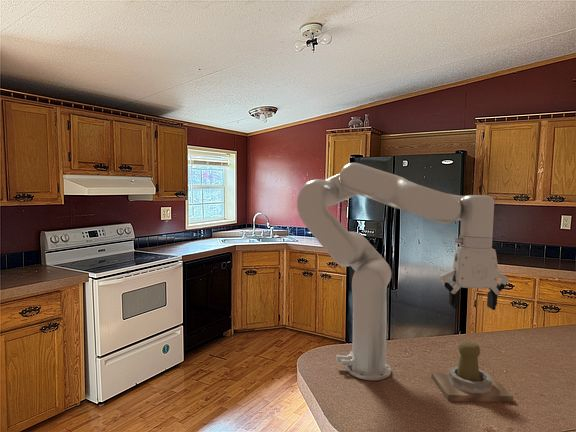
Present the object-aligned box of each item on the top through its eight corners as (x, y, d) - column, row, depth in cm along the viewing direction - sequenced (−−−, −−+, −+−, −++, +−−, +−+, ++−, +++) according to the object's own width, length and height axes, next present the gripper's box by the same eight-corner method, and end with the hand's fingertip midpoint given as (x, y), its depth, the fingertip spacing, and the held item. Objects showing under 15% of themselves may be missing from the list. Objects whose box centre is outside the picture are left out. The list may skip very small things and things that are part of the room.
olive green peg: (476, 379, 106) (478, 339, 105) (483, 390, 100) (485, 348, 99) (453, 376, 107) (454, 337, 106) (458, 387, 101) (460, 346, 100)
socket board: (448, 400, 98) (448, 385, 97) (431, 377, 110) (432, 363, 109) (512, 402, 97) (513, 386, 97) (489, 378, 109) (489, 364, 109)
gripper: (447, 244, 97) (444, 311, 98) (517, 245, 97) (513, 313, 98) (436, 240, 105) (434, 303, 106) (502, 241, 104) (498, 304, 106)
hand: (472, 307), depth 102 cm, fingers open, 9 cm apart
